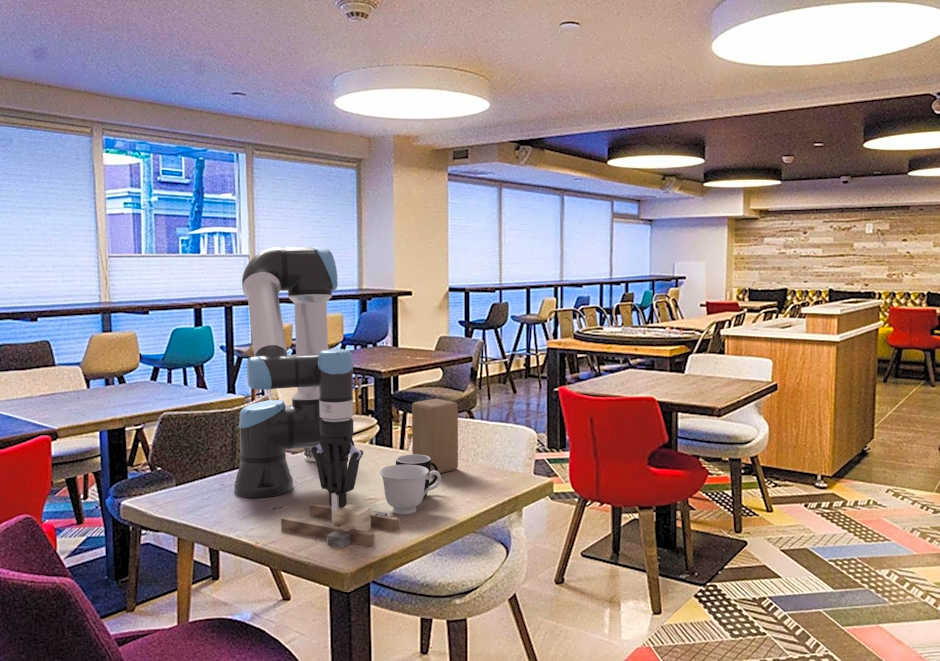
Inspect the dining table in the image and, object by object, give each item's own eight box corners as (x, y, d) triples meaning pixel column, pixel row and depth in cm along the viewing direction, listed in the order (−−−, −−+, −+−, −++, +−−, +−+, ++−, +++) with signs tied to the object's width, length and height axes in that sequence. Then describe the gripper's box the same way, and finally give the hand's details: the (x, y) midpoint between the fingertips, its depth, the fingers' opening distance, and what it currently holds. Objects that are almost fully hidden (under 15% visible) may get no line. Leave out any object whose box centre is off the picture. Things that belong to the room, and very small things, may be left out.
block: (437, 463, 229) (436, 397, 228) (459, 469, 222) (459, 402, 220) (411, 469, 223) (410, 401, 221) (433, 476, 215) (432, 406, 213)
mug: (407, 504, 190) (407, 465, 189) (389, 495, 198) (389, 457, 197) (447, 496, 197) (447, 457, 196) (428, 487, 204) (428, 450, 204)
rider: (333, 533, 170) (332, 512, 170) (348, 525, 176) (348, 504, 175) (355, 538, 168) (355, 515, 167) (370, 529, 173) (370, 507, 173)
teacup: (442, 518, 180) (441, 476, 179) (378, 519, 179) (378, 478, 178) (440, 502, 192) (439, 463, 191) (380, 503, 191) (380, 464, 190)
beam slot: (272, 533, 170) (272, 521, 170) (321, 509, 186) (321, 498, 186) (362, 551, 160) (362, 538, 160) (406, 524, 176) (405, 512, 176)
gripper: (302, 418, 170) (304, 521, 172) (350, 424, 165) (352, 529, 167) (323, 412, 177) (324, 511, 179) (370, 417, 171) (371, 519, 173)
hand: (338, 520), depth 173 cm, fingers closed
